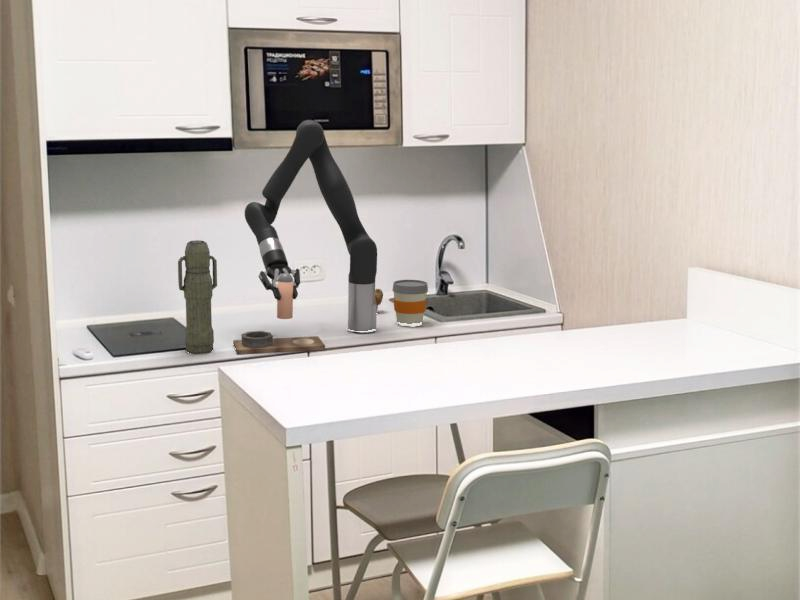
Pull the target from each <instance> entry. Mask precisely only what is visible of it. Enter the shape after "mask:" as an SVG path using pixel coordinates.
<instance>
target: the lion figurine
mask: <svg viewBox="0 0 800 600" xmlns="http://www.w3.org/2000/svg"><path fill="white" fill-rule="evenodd" d="M383 299H384V292H383V291H382V289H381V288H375V304H376V306H377V310H378V309H379V308H378V307H379V306H380V305H381V303H382V302H383ZM376 313H378V314H379V312H378V311H377V312H376Z"/></svg>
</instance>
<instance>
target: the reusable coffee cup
mask: <svg viewBox="0 0 800 600" xmlns="http://www.w3.org/2000/svg"><path fill="white" fill-rule="evenodd" d="M392 292H393V298H392V301H393V308H394V309H393V310H394V312H395V317H396V323H397V322H400V323H407V324H412V323H420V322H422V321H423V320H424V314H425V312H426V309H427V301H428V299H427V293H428V292H429V287H428V282H427V281H424V280H420V279H419V280H418V279H398V280H396V281H393V285H392ZM423 322H424V321H423ZM423 322H422V323H423Z"/></svg>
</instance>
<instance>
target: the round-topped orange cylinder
mask: <svg viewBox="0 0 800 600" xmlns="http://www.w3.org/2000/svg"><path fill="white" fill-rule="evenodd" d="M293 281H294V277H293V276H292V274H291V273H290V274H288V273H282V274H280V275H279V277H278V279H277V288H278V289H279V292H280V295H281V299H280V300H278V301H277V300H276V303H277V304H276V318H277V319H280V320H290V319H293V314H294V312H293V311H294V310H293V309H294V304H293V303H294V299H293Z"/></svg>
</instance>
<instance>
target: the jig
mask: <svg viewBox="0 0 800 600" xmlns="http://www.w3.org/2000/svg"><path fill="white" fill-rule="evenodd" d="M240 336H241V339H233V342H232V345H233V344H234V345H233V347H234V346H235V348H236V350H235V353H236V355H253V354H255V355H257V354H273V353H274V354H275V353H276V354H277V353H291V352H293V353H295V352H309V351H310V352H312V351H326V345H325V343H324V342H323V340H322V339H321V338H320V337H319V336H318V335H315V336H313V335H312V336H295V337H292V336H291V337H277V338H275V337H273V334H272V333H271V332H270V331H269V332H268V331H263V330H257V331H255V330H254V331H253V330H252V331H247V332H244V333H241V335H240ZM235 348H234V349H235Z"/></svg>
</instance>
